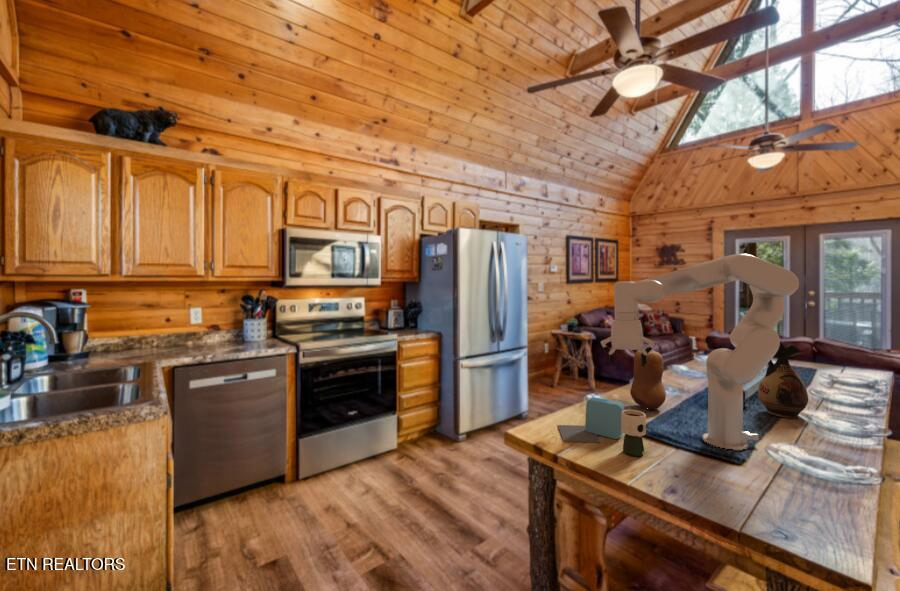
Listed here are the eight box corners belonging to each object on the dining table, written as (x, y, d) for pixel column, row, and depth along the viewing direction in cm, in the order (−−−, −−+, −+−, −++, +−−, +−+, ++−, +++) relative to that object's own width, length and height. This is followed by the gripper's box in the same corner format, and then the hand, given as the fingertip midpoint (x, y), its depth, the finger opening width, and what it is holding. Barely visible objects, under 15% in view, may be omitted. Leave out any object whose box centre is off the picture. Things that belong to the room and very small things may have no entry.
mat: (590, 426, 150) (590, 425, 150) (600, 443, 135) (600, 441, 135) (557, 425, 152) (557, 424, 152) (563, 441, 137) (563, 440, 137)
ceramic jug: (803, 411, 163) (804, 338, 162) (811, 423, 150) (813, 344, 149) (751, 405, 172) (752, 336, 171) (755, 416, 159) (756, 341, 158)
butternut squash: (672, 409, 169) (672, 350, 168) (655, 415, 161) (655, 354, 161) (640, 401, 180) (640, 346, 180) (623, 406, 173) (623, 349, 172)
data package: (623, 436, 141) (624, 402, 140) (620, 440, 137) (621, 405, 137) (588, 428, 148) (589, 396, 147) (584, 431, 144) (586, 399, 144)
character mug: (638, 462, 121) (638, 420, 120) (614, 455, 126) (614, 414, 125) (651, 451, 128) (651, 411, 128) (629, 445, 133) (629, 406, 133)
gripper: (651, 315, 140) (653, 364, 141) (599, 316, 145) (600, 362, 146) (655, 317, 133) (657, 368, 133) (600, 318, 138) (601, 367, 139)
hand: (627, 365), depth 140 cm, fingers open, 9 cm apart
